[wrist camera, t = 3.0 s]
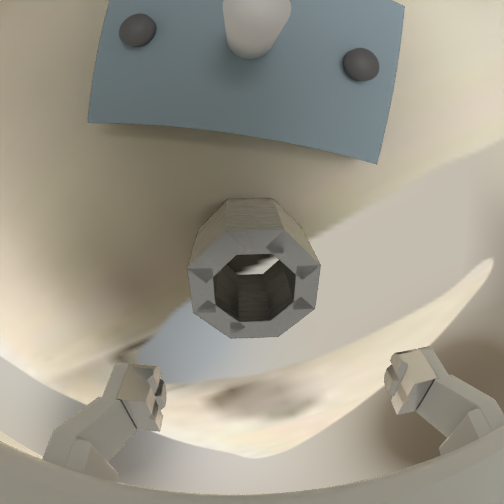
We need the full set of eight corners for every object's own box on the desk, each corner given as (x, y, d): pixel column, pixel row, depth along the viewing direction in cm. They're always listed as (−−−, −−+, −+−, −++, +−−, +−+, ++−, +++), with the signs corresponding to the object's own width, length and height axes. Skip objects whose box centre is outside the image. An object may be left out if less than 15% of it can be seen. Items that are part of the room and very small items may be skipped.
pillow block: (107, 119, 14) (32, 133, 8) (137, -24, 10) (87, -78, 4) (358, 156, 15) (427, 189, 9) (383, 16, 12) (456, -16, 5)
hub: (204, 290, 19) (197, 338, 15) (196, 200, 16) (183, 232, 12) (296, 287, 19) (311, 334, 15) (302, 198, 16) (324, 229, 12)
